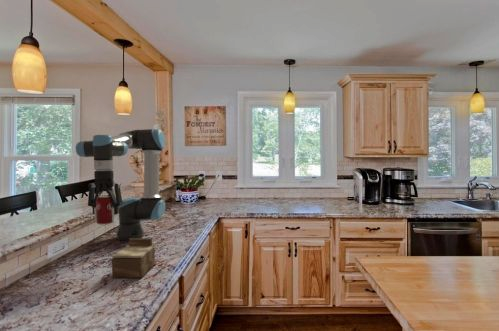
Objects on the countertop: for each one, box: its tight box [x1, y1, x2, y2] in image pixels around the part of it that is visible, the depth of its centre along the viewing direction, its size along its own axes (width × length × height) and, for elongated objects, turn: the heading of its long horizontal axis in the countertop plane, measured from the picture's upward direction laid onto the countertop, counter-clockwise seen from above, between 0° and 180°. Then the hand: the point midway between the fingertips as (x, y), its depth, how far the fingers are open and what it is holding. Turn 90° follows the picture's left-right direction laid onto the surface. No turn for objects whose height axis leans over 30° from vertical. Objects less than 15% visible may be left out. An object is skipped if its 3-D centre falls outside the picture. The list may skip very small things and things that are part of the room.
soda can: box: [96, 194, 115, 226], centre depth 129 cm, size 7×7×12 cm
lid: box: [111, 237, 155, 259], centre depth 124 cm, size 14×12×4 cm
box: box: [111, 247, 156, 280], centre depth 124 cm, size 14×12×8 cm
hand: (106, 221), depth 129 cm, fingers closed on soda can, 7 cm apart
